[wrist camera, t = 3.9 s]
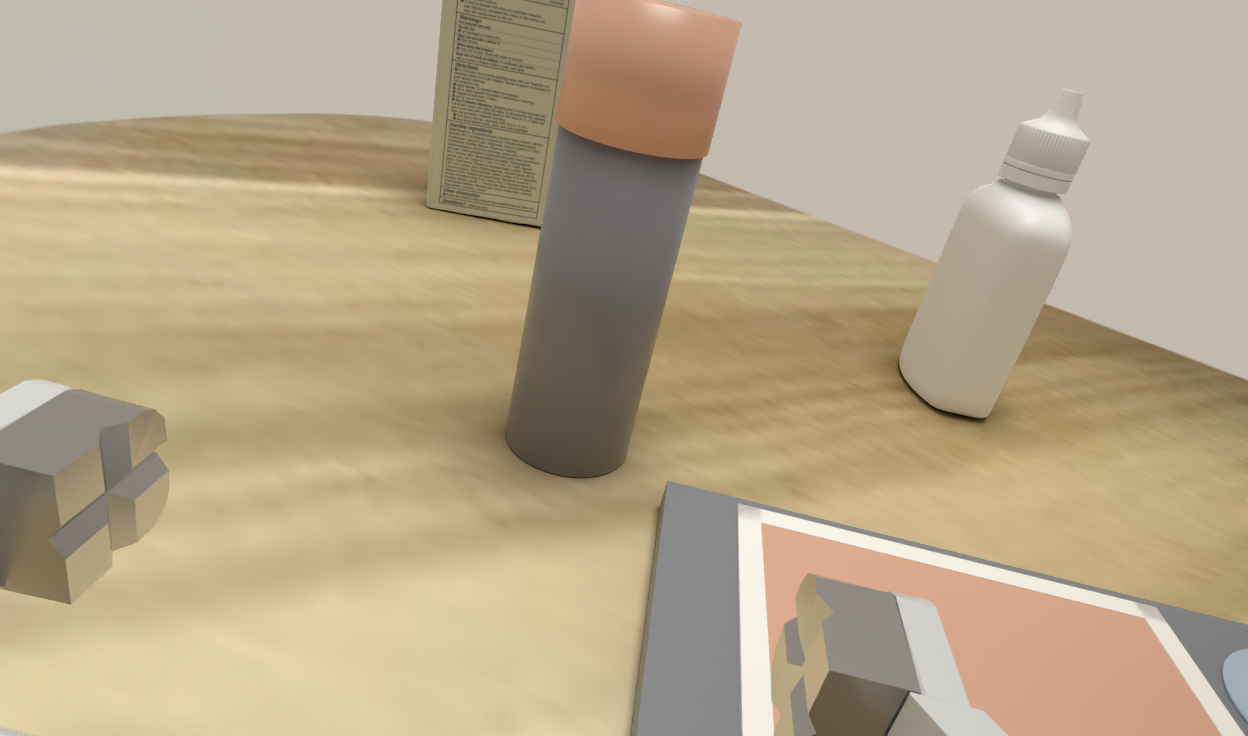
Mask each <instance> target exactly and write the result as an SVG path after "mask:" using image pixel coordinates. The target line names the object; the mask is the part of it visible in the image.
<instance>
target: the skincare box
mask: <svg viewBox="0 0 1248 736" xmlns="http://www.w3.org/2000/svg"><path fill="white" fill-rule="evenodd" d="M575 3H576V0H443V1H442V13H441V26H440V39H439V51H438V64H437V76H436V89H435V101H434V113H433V126H432V138H431V150H430V162H429V175H428V188H427V200H426V205H427V207H430V208H435V209H441V210H447V211H452V212H457V213H462V214H469V215H475V216H482V217H488V218H493V219H498V220H503V221H508V222H514V223H523V224H530V225H536V226H541V225H542V220H543V214H544V208H545V202H546V196H547V191H548V185H549V179H550V173H551V168H552V162H553V156H554V150H555V144H556V139H557V133H558V127H559V124H558V123H557V122H556V114H557V108H558V102H559V96H560V91H561V85H562V79H563V73H564V67H565V61H566V55H567V49H568V44H569V38H570V32H571V26H572V20H573V14H574V8H575Z"/></svg>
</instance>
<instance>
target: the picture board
mask: <svg viewBox="0 0 1248 736" xmlns="http://www.w3.org/2000/svg"><path fill="white" fill-rule="evenodd" d="M808 573H811V574H815V575H819V576H823V577H827V578H832V579H836V580H840V581H844V582H848V583H852V584H856V585H860V586H864V587H868V588H873V589H877V590H881V591H885V592H889V591H891V592H895V593H900V594H905V595H909V596H914V597H918V598H923V599H927V600H930V601H931V602H932V603H933V604H934V605H935V606H936V608H937V611H938V614H939V617H940V620H941V623H942V625H943V628H944V631H945V634H946V637H947V640H948V643H949V646H950V648H951V651H952V654H953V657H954V660H955V663H956V666H957V669H958V671H959V674H960V677H961V680H962V683H963V686H964V689H965V691H966V694H967V697H968V700H969V703H970V706H971V708H975V709H979V710H983V711H985V712H986V714H987V715H988V716H989V717H990V718H991V719H992V720H993V721H994V722H995V723H996V724H997V725H998V726H999V727H1000V728H1001V729H1002V730H1003V731H1004V732H1005V733H1006V734H1007V735H1008V736H1248V625H1245V624H1241V623H1237V622H1233V621H1229V620H1225V619H1221V618H1217V617H1213V616H1209V615H1205V614H1201V613H1197V612H1193V611H1189V610H1185V609H1181V608H1177V607H1173V606H1169V605H1165V604H1161V603H1157V602H1153V601H1149V600H1145V599H1141V598H1137V597H1133V596H1129V595H1125V594H1121V593H1117V592H1113V591H1108V590H1104V589H1100V588H1096V587H1092V586H1088V585H1084V584H1080V583H1076V582H1072V581H1068V580H1064V579H1060V578H1056V577H1052V576H1048V575H1044V574H1040V573H1036V572H1032V571H1028V570H1024V569H1020V568H1016V567H1012V566H1008V565H1004V564H1000V563H996V562H992V561H988V560H984V559H980V558H976V557H972V556H968V555H964V554H960V553H956V552H952V551H948V550H944V549H940V548H936V547H932V546H928V545H924V544H920V543H916V542H912V541H908V540H904V539H900V538H895V537H891V536H887V535H883V534H879V533H875V532H871V531H867V530H863V529H859V528H855V527H851V526H847V525H843V524H839V523H835V522H831V521H827V520H823V519H819V518H815V517H811V516H807V515H803V514H799V513H795V512H791V511H787V510H783V509H779V508H775V507H771V506H767V505H763V504H759V503H755V502H751V501H747V500H743V499H739V498H735V497H731V496H727V495H723V494H719V493H715V492H711V491H707V490H703V489H699V488H695V487H691V486H686V485H682V484H678V483H674V482H670V481H667V484H666V487H665V491H664V494H663V498H662V501H661V505H660V513H659V520H658V528H657V536H656V543H655V551H654V559H653V567H652V574H651V582H650V590H649V598H648V605H647V613H646V621H645V628H644V636H643V644H642V652H641V659H640V667H639V675H638V682H637V690H636V698H635V706H634V713H633V721H632V729H631V736H774V730H775V728H776V725H777V723H778V721H779V718H780V716H781V713H780V712H779V710H778V709H777V708H776V706H775V705H774V704H773V702H772V700H771V671H772V663H773V658H774V653H775V649H776V644H777V641H778V639H779V636H780V633H781V631H782V628H783V625H784V624H785V623H786V622H788V621H790V620H792V619H793V618H795V617H797V610H796V601H795V596H796V594H797V592H798V589H799V587H800V585H801V582H802V581H803V579H804V578H805V577H806V575H807V574H808Z"/></svg>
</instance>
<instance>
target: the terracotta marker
mask: <svg viewBox="0 0 1248 736" xmlns="http://www.w3.org/2000/svg"><path fill="white" fill-rule="evenodd" d="M741 25H742V23H741V22H739V21H737V20H734V19H730V18H727V17H724V16H720V15H716V14H713V13H709V12H705V11H702V10H697V9H694V8H690V7H686V6H682V5H678V4H674V3H670V2H666V1H661V0H576V3H575V8H574V14H573V20H572V26H571V32H570V38H569V44H568V49H567V55H566V61H565V67H564V73H563V79H562V85H561V91H560V96H559V102H558V108H557V114H556V122H557V123H558V124H559V127H558V133H557V139H556V144H555V150H554V156H553V162H552V168H551V173H550V179H549V185H548V191H547V196H546V202H545V208H544V214H543V220H542V225H541V231H540V237H539V243H538V249H537V254H536V260H535V266H534V272H533V277H532V283H531V289H530V295H529V301H528V306H527V312H526V318H525V324H524V330H523V335H522V341H521V347H520V353H519V358H518V364H517V370H516V376H515V382H514V387H513V393H512V399H511V405H510V411H509V416H508V422H507V428H506V440H507V442H508V444H509V446H510V448H511V449H512V450H513V452H514V453H515V454H516V455H517V456H518V457H520V458H521V459H522V460H524V461H525V462H527V463H528V464H530V465H532V466H534V467H536V468H538V469H540V470H543V471H546V472H549V473H552V474H556V475H561V476H567V477H579V478H582V477H595V476H600V475H604V474H607V473H609V472H611V471H613V470H615V469H616V468H618V467H619V466H620V465H621V464H622V463H623V461H624V460H625V457H626V453H627V450H628V446H629V442H630V438H631V434H632V430H633V426H634V422H635V419H636V415H637V411H638V407H639V403H640V399H641V395H642V391H643V388H644V384H645V380H646V376H647V372H648V368H649V364H650V360H651V357H652V353H653V349H654V345H655V341H656V337H657V333H658V329H659V326H660V322H661V318H662V314H663V310H664V306H665V302H666V298H667V295H668V291H669V287H670V283H671V279H672V275H673V271H674V267H675V264H676V260H677V256H678V252H679V248H680V244H681V240H682V236H683V233H684V229H685V225H686V221H687V217H688V213H689V209H690V205H691V202H692V198H693V194H694V190H695V186H696V182H697V178H698V174H699V171H700V167H701V163H702V159H703V157H706V156H707V155H708V152H709V148H710V144H711V141H712V137H713V133H714V129H715V125H716V121H717V117H718V114H719V110H720V106H721V102H722V98H723V94H724V91H725V87H726V83H727V79H728V75H729V71H730V68H731V64H732V60H733V56H734V52H735V48H736V44H737V40H738V37H739V33H740V29H741Z"/></svg>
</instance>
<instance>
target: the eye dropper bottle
mask: <svg viewBox="0 0 1248 736" xmlns="http://www.w3.org/2000/svg"><path fill="white" fill-rule="evenodd" d="M1082 99H1083V93H1079V92H1075V91H1071V90H1067V89H1062V91H1061V92H1060V94H1059V95H1058V97H1057V98H1056V100H1055V101H1054V103H1053V105H1052V106H1051V107H1050V109H1049V110H1048V111H1047V113H1046V114H1045V115H1043V116H1042V117H1040V118H1038V119H1034V120H1029V121H1025V122H1022V123H1020V124H1019V126H1018V129H1017V131H1016V134H1015V136H1014V138H1013V140H1012V143H1011V145H1010V147H1009V150H1008V152H1007V154H1006V157H1005V159H1004V162H1003V164H1002V166H1001V168H1000V171H999V173H998V174H999V175H1000V176H1002V177H1004V178H1005V179H999V180H997V181H996V182H994V183H990V184H985V185H982V186H980V187H978V188H976V189H975V190H973V191H972V192H971V193H970V194H969V195H968V196H967V198H966V199H965V201H964V203H963V205H962V207H961V209H960V211H959V214H958V216H957V218H956V221H955V223H954V225H953V228H952V230H951V232H950V235H949V237H948V239H947V242H946V244H945V246H944V249H943V251H942V254H941V256H940V258H939V261H938V263H937V266H936V268H935V270H934V273H933V275H932V277H931V280H930V282H929V285H928V287H927V289H926V292H925V294H924V297H923V299H922V301H921V304H920V306H919V309H918V311H917V313H916V316H915V318H914V321H913V323H912V325H911V328H910V330H909V333H908V335H907V337H906V340H905V342H904V345H903V347H902V350H901V353H900V358H899V365H900V370H901V372H902V374H903V376H904V378H905V380H906V381H907V383H908V384H909V385H910V386H911V388H912V389H913V390H914V391H915V392H916V393H917V394H918V395H919V396H920V397H922V398H923V399H924V400H925V401H926V402H927V403H929V404H930V405H932V406H933V407H935V408H938V409H940V410H944V411H948V412H952V413H956V414H961V415H965V416H970V417H975V418H984V417H987V416H988V415H989V414H990V412H991V411H992V409H993V407H994V405H995V403H996V401H997V399H998V397H999V395H1000V393H1001V391H1002V389H1003V387H1004V385H1005V383H1006V381H1007V379H1008V377H1009V375H1010V373H1011V371H1012V369H1013V366H1014V364H1015V362H1016V360H1017V358H1018V356H1019V354H1020V352H1021V350H1022V348H1023V346H1024V344H1025V342H1026V340H1027V338H1028V336H1029V334H1030V332H1031V330H1032V328H1033V326H1034V324H1035V322H1036V320H1037V317H1038V315H1039V313H1040V311H1041V309H1042V307H1043V305H1044V303H1045V301H1046V299H1047V297H1048V295H1049V293H1050V291H1051V289H1052V287H1053V284H1054V282H1055V280H1056V278H1057V276H1058V274H1059V271H1060V269H1061V267H1062V265H1063V263H1064V261H1065V259H1066V257H1067V254H1068V251H1069V249H1070V246H1071V241H1072V227H1071V222H1070V219H1069V216H1068V214H1067V211H1066V210H1065V208H1064V206H1063V203H1062V200H1061V198H1060V197H1059V196H1058V195H1056V194H1066V193H1067V191H1068V189H1069V187H1070V185H1071V182H1072V180H1073V178H1074V176H1075V174H1076V172H1077V170H1078V168H1079V166H1080V163H1081V161H1082V159H1083V157H1084V155H1085V153H1086V151H1087V149H1088V147H1089V144H1090V140H1089V139H1088V138H1087V137H1086V136H1085V135H1084V134H1083V133H1082V132H1081V131H1080V129H1079V127H1078V122H1077V120H1078V115H1079V111H1080V107H1081V103H1082Z"/></svg>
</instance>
